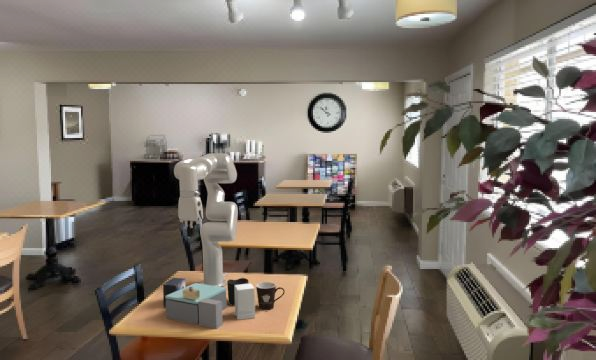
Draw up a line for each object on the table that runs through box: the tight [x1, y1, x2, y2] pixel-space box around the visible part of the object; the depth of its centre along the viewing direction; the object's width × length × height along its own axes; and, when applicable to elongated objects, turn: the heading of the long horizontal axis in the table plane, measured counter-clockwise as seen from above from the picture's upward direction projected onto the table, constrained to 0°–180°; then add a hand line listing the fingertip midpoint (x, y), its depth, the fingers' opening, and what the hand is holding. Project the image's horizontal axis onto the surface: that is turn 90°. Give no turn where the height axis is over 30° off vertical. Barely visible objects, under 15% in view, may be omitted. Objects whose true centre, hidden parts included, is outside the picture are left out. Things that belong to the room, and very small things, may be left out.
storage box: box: [165, 290, 227, 329], centre depth 207 cm, size 20×25×10 cm
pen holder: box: [226, 277, 249, 307], centre depth 221 cm, size 9×9×10 cm
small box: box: [162, 276, 187, 308], centre depth 221 cm, size 11×6×10 cm, turn 168°
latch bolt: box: [183, 287, 200, 300], centre depth 200 cm, size 3×6×4 cm, turn 64°
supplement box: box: [234, 283, 256, 320], centre depth 206 cm, size 7×7×13 cm
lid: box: [165, 282, 227, 304], centre depth 209 cm, size 20×16×1 cm
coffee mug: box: [255, 281, 286, 311], centre depth 214 cm, size 12×9×10 cm
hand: (191, 236), depth 212 cm, fingers closed
